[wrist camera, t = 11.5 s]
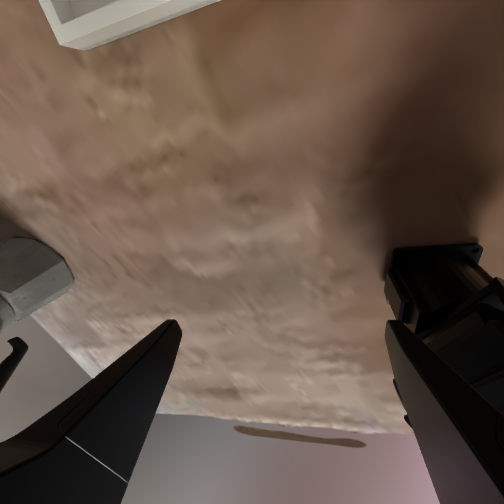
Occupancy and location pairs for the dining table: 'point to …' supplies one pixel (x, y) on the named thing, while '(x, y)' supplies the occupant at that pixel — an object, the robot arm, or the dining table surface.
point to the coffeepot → (27, 288)
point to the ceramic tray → (109, 18)
